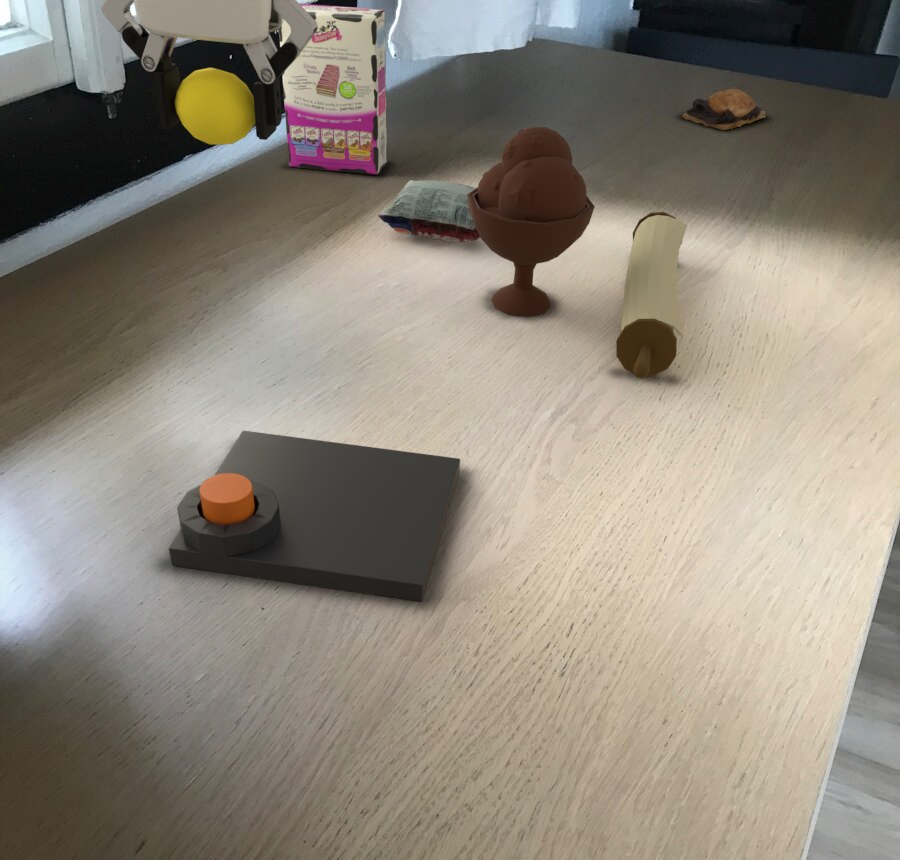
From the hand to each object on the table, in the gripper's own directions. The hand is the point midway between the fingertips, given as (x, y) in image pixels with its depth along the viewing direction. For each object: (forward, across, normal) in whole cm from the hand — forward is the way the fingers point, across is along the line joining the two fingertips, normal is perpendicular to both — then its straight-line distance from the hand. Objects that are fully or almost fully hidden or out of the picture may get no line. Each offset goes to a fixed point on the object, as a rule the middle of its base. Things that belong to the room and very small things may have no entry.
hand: (219, 127), depth 77 cm
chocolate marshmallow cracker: (+14, -47, -75) cm, 90 cm away
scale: (+16, -15, +28) cm, 35 cm away
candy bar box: (+16, +1, -41) cm, 44 cm away
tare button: (+13, -10, +31) cm, 36 cm away
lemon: (+1, 0, 0) cm, 1 cm away
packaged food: (+15, -15, -24) cm, 32 cm away
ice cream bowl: (+15, -25, -8) cm, 30 cm away
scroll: (+15, -37, -9) cm, 41 cm away
